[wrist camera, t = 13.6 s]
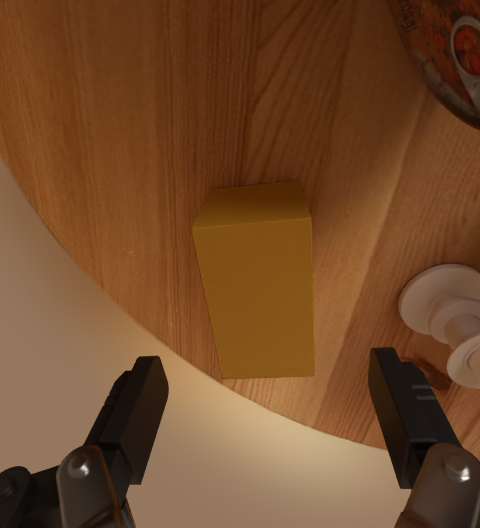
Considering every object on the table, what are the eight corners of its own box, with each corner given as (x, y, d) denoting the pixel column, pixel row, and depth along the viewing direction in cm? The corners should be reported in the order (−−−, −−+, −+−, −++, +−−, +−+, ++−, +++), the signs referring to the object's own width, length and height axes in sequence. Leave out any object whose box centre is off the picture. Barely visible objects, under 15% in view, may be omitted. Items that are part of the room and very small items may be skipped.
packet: (231, 316, 23) (222, 379, 18) (209, 189, 19) (190, 228, 14) (304, 312, 23) (315, 376, 18) (299, 179, 18) (311, 217, 13)
